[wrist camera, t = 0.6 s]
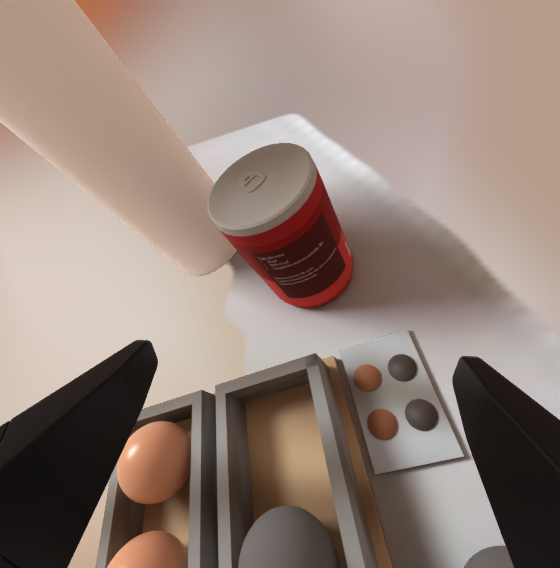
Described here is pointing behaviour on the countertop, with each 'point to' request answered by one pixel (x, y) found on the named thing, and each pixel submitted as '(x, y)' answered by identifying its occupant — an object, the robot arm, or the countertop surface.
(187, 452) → the terracotta ball
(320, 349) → the countertop surface
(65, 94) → the cylinder container
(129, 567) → the terracotta ball
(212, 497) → the grey sorting tray
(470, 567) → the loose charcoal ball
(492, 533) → the countertop surface
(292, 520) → the resting charcoal ball
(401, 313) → the countertop surface
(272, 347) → the countertop surface
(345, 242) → the canned food
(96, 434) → the robot arm
